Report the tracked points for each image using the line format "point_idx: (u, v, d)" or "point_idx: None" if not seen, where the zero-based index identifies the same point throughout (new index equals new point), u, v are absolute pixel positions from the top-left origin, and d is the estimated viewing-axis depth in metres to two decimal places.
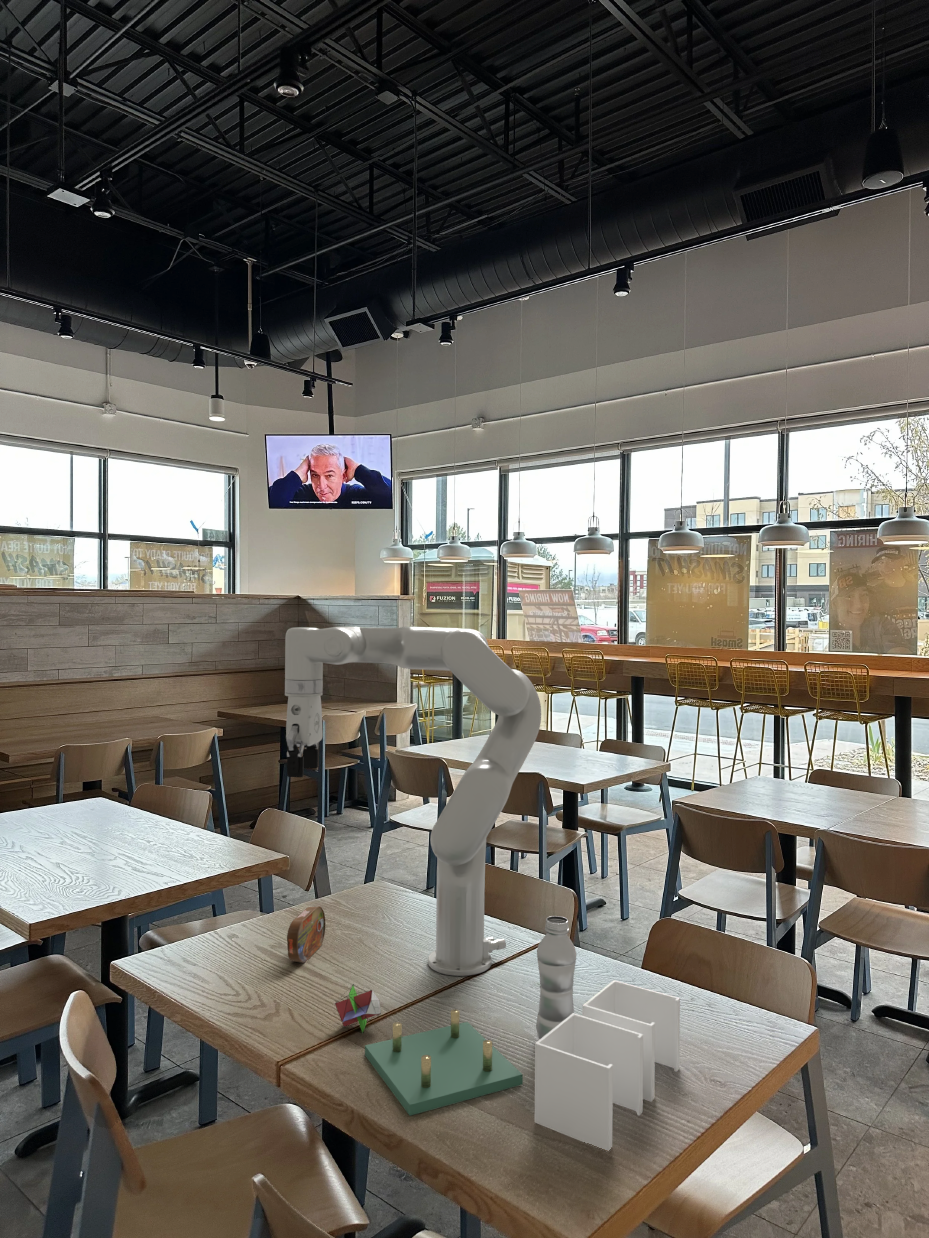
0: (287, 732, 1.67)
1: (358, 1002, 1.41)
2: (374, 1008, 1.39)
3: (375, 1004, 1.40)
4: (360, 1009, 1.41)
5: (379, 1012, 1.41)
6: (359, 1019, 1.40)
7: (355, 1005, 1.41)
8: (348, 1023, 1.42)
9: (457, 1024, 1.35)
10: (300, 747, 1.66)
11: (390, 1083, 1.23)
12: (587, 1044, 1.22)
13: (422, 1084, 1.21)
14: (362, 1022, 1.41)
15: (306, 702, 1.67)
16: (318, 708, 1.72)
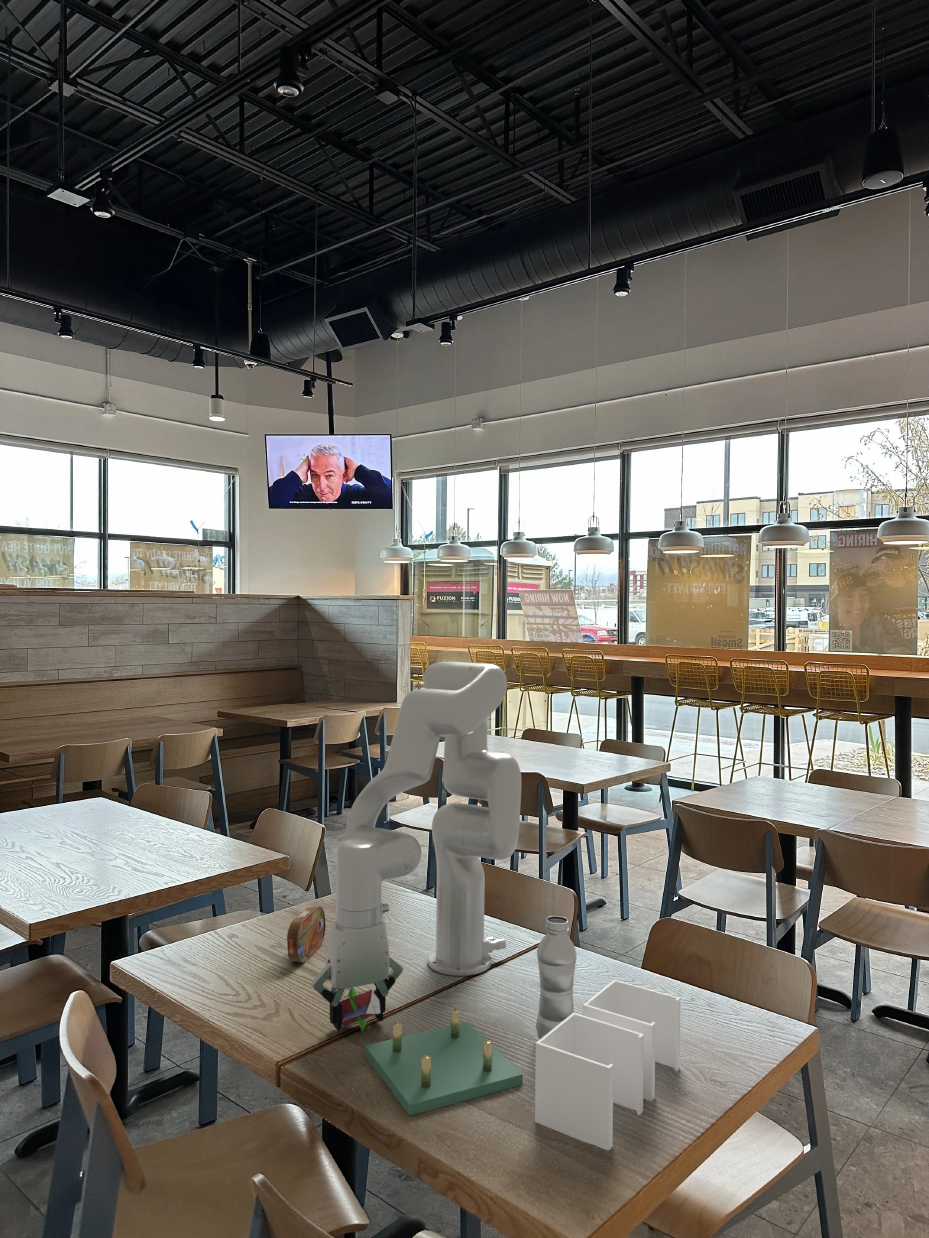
0: (389, 963, 1.42)
1: (358, 1002, 1.41)
2: (374, 1008, 1.39)
3: (374, 1004, 1.40)
4: (360, 1009, 1.41)
5: (379, 1012, 1.41)
6: (359, 1019, 1.40)
7: (355, 1005, 1.41)
8: (348, 1023, 1.41)
9: (457, 1024, 1.35)
10: None
11: (390, 1083, 1.23)
12: (587, 1044, 1.23)
13: (422, 1084, 1.21)
14: (362, 1022, 1.41)
15: None
16: None
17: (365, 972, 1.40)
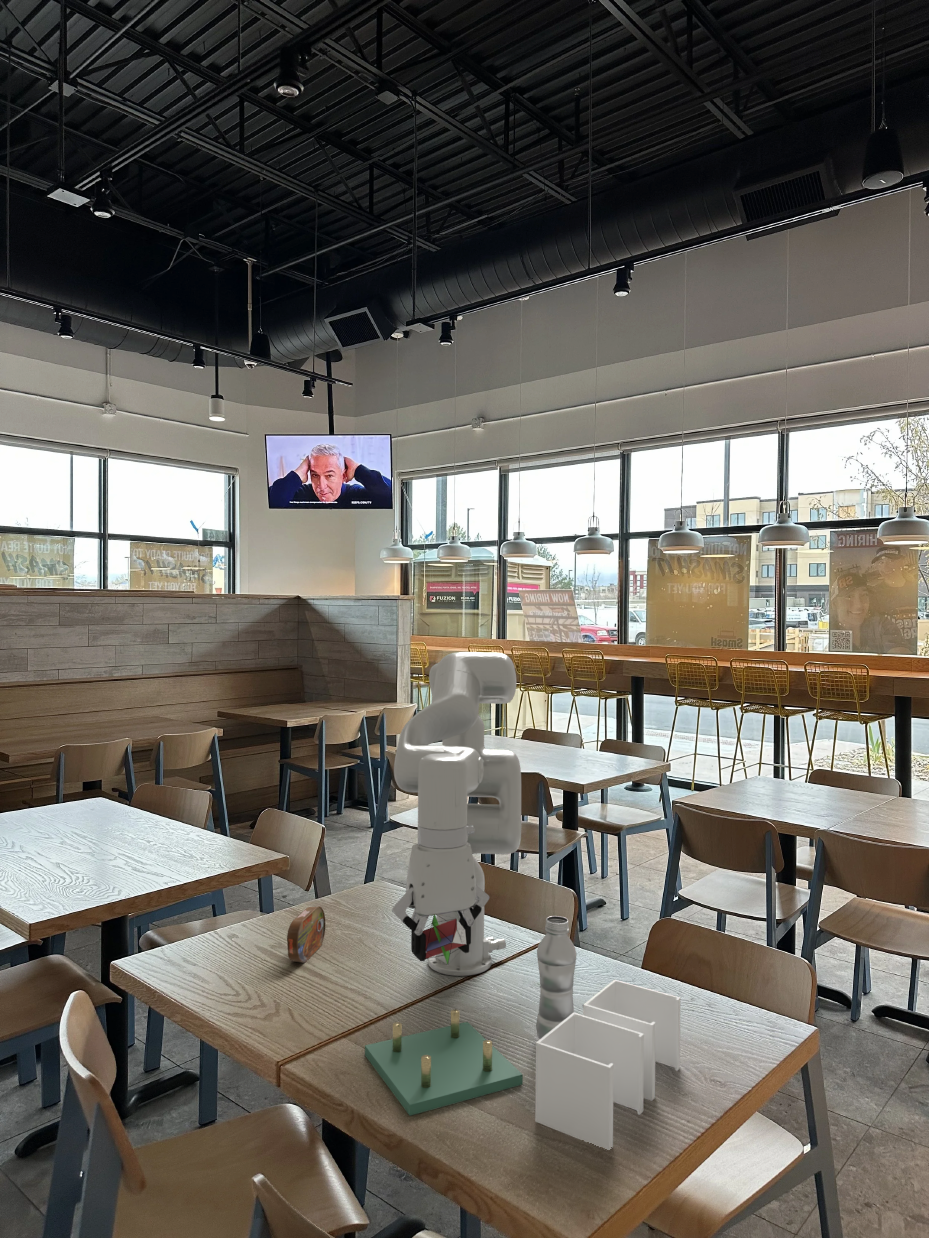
0: (475, 890, 1.29)
1: (441, 932, 1.29)
2: (460, 937, 1.27)
3: (460, 933, 1.27)
4: (444, 939, 1.28)
5: (465, 942, 1.28)
6: (443, 950, 1.27)
7: (438, 935, 1.28)
8: (430, 955, 1.29)
9: (457, 1024, 1.35)
10: None
11: (390, 1083, 1.23)
12: (588, 1043, 1.23)
13: (422, 1084, 1.21)
14: (446, 954, 1.28)
15: None
16: None
17: (451, 898, 1.27)
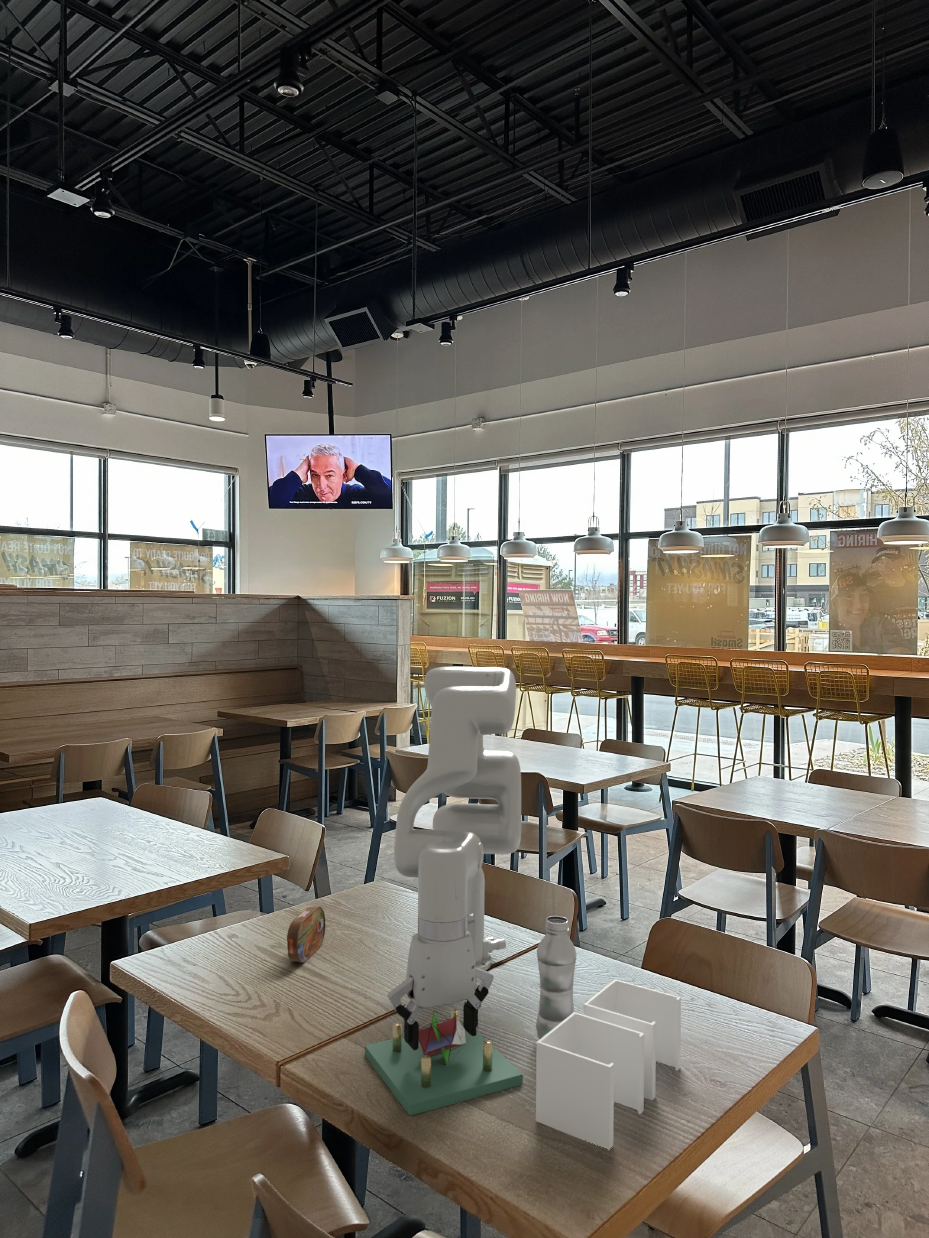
0: (475, 979, 1.29)
1: (441, 1030, 1.29)
2: (460, 1038, 1.27)
3: (460, 1034, 1.27)
4: (444, 1038, 1.28)
5: (464, 1042, 1.28)
6: (443, 1049, 1.28)
7: (438, 1034, 1.28)
8: (430, 1053, 1.29)
9: None
10: None
11: (390, 1083, 1.23)
12: (588, 1043, 1.23)
13: (422, 1084, 1.21)
14: (445, 1053, 1.28)
15: None
16: None
17: (451, 989, 1.27)
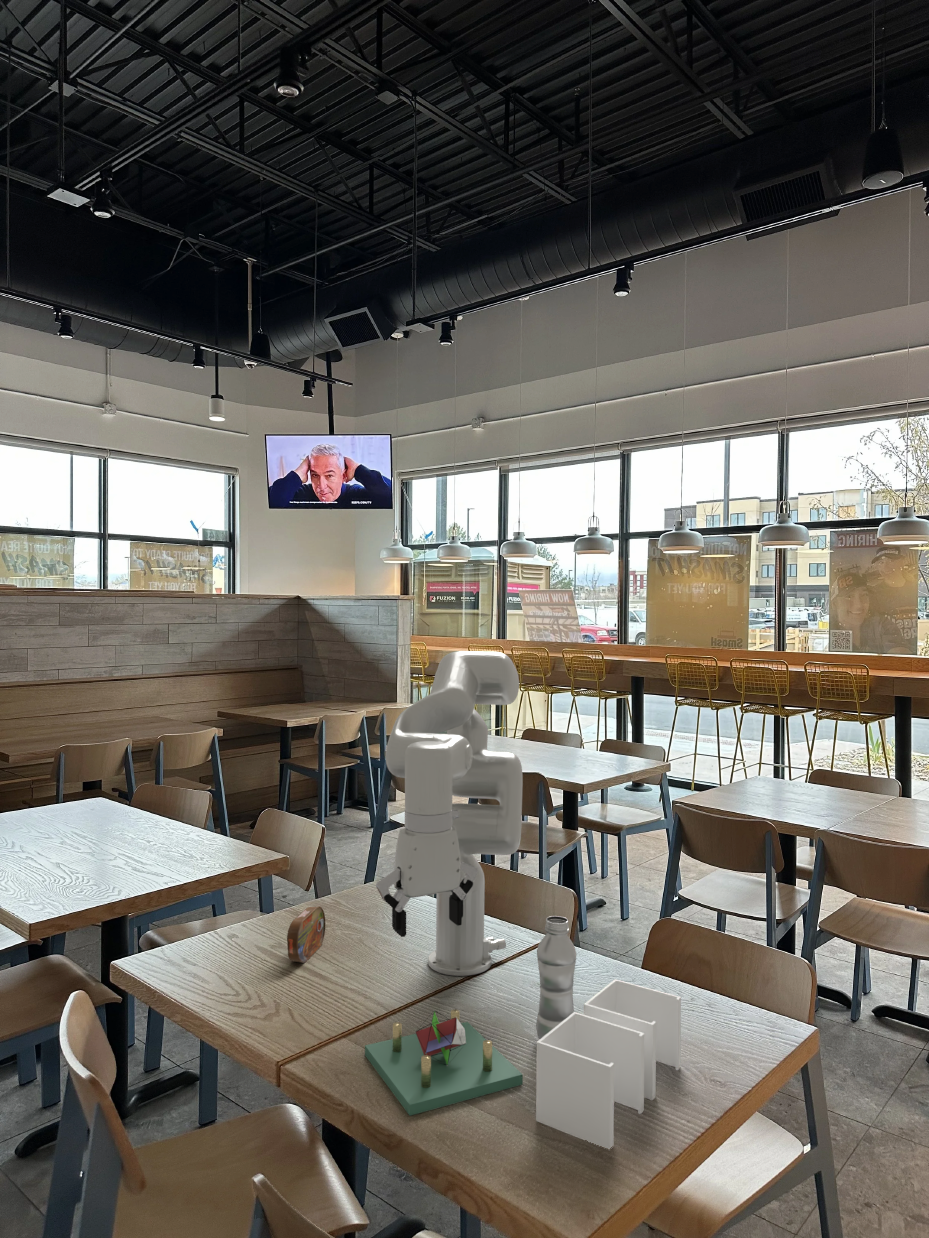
0: (460, 872, 1.35)
1: (441, 1030, 1.29)
2: (460, 1038, 1.27)
3: (460, 1034, 1.27)
4: (444, 1038, 1.28)
5: (464, 1042, 1.28)
6: (443, 1049, 1.28)
7: (438, 1034, 1.28)
8: (430, 1053, 1.29)
9: None
10: None
11: (390, 1083, 1.23)
12: (588, 1043, 1.23)
13: (422, 1084, 1.21)
14: (446, 1053, 1.28)
15: None
16: None
17: (437, 880, 1.32)
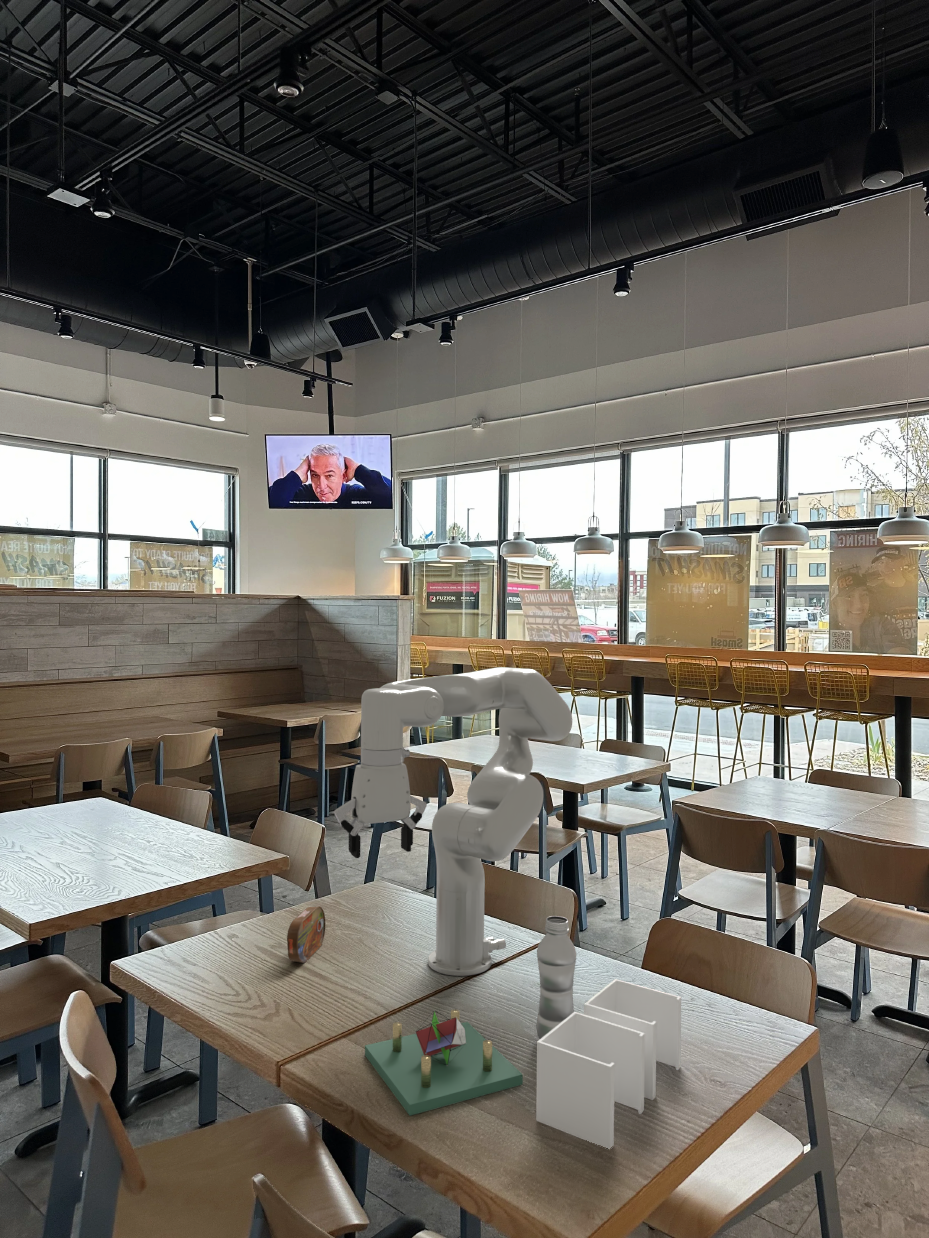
0: (410, 803, 1.52)
1: (441, 1030, 1.29)
2: (460, 1038, 1.27)
3: (460, 1034, 1.27)
4: (444, 1038, 1.28)
5: (464, 1042, 1.28)
6: (443, 1049, 1.28)
7: (438, 1034, 1.28)
8: (430, 1053, 1.29)
9: None
10: None
11: (390, 1083, 1.23)
12: (589, 1043, 1.23)
13: (422, 1084, 1.21)
14: (445, 1053, 1.28)
15: None
16: None
17: (388, 809, 1.50)
